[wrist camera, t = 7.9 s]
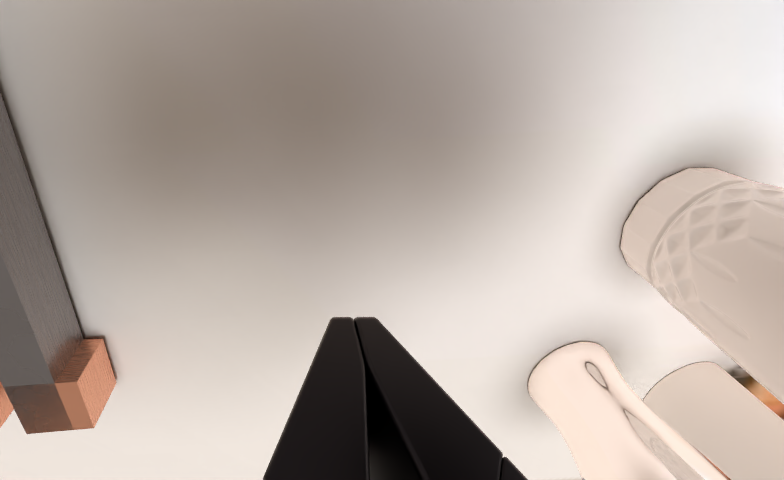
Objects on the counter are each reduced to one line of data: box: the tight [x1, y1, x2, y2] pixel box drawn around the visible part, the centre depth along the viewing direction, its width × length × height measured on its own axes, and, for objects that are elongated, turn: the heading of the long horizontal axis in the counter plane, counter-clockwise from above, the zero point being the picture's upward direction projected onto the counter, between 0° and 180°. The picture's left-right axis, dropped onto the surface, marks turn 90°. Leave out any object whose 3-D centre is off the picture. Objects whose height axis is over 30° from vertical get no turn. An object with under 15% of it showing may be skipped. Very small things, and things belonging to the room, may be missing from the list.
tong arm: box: [0, 93, 116, 434], centre depth 14 cm, size 19×3×3 cm, turn 173°
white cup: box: [620, 168, 784, 404], centre depth 19 cm, size 8×8×10 cm
